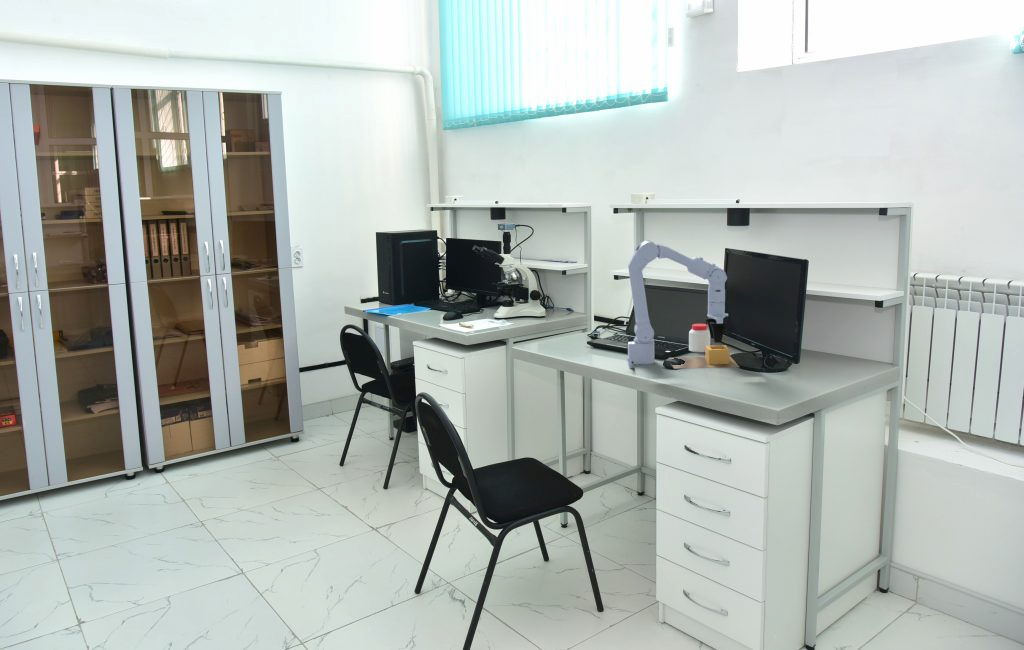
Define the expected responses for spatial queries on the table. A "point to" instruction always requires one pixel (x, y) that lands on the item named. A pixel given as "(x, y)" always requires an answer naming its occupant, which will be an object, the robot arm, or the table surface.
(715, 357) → the orange open box
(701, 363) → the keeper board
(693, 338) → the pill bottle
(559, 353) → the table surface
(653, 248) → the robot arm
